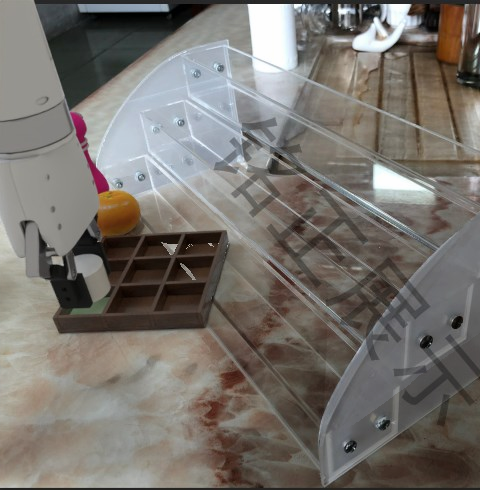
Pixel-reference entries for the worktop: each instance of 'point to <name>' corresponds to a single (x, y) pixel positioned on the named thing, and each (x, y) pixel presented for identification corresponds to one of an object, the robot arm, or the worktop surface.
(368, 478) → the worktop surface
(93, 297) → the white cylinder puck
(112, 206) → the fruit
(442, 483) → the worktop surface
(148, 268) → the board
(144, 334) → the worktop surface
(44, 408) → the worktop surface
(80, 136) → the pink pepper grinder
